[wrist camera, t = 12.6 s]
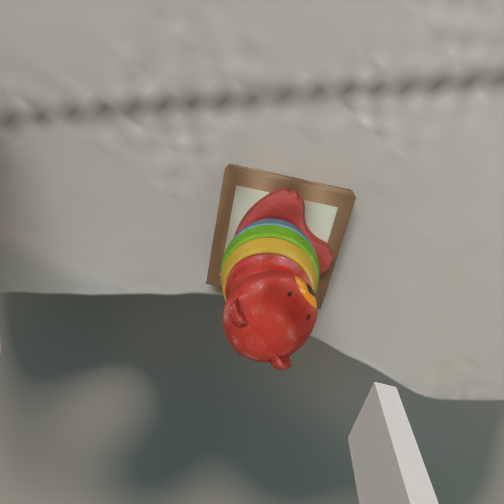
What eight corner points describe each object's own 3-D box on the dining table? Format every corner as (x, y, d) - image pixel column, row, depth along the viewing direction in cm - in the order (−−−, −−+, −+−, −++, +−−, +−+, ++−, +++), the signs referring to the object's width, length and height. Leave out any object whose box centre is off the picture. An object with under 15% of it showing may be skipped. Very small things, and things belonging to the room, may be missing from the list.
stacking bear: (339, 262, 42) (369, 369, 26) (262, 299, 45) (245, 418, 29) (292, 179, 39) (291, 242, 23) (212, 225, 42) (160, 310, 25)
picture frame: (211, 272, 48) (205, 284, 45) (229, 163, 42) (224, 168, 39) (318, 296, 47) (320, 309, 45) (351, 190, 42) (356, 197, 39)
